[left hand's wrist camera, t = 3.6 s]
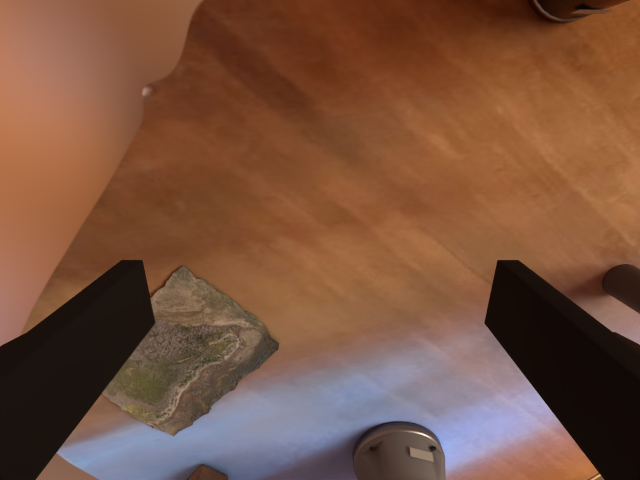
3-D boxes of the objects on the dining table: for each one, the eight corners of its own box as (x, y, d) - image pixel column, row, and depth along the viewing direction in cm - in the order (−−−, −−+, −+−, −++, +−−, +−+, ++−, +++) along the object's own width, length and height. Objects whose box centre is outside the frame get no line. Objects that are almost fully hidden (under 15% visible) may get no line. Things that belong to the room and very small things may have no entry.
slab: (182, 441, 57) (179, 446, 56) (73, 380, 52) (69, 384, 52) (288, 339, 50) (287, 343, 49) (172, 257, 45) (169, 260, 44)
